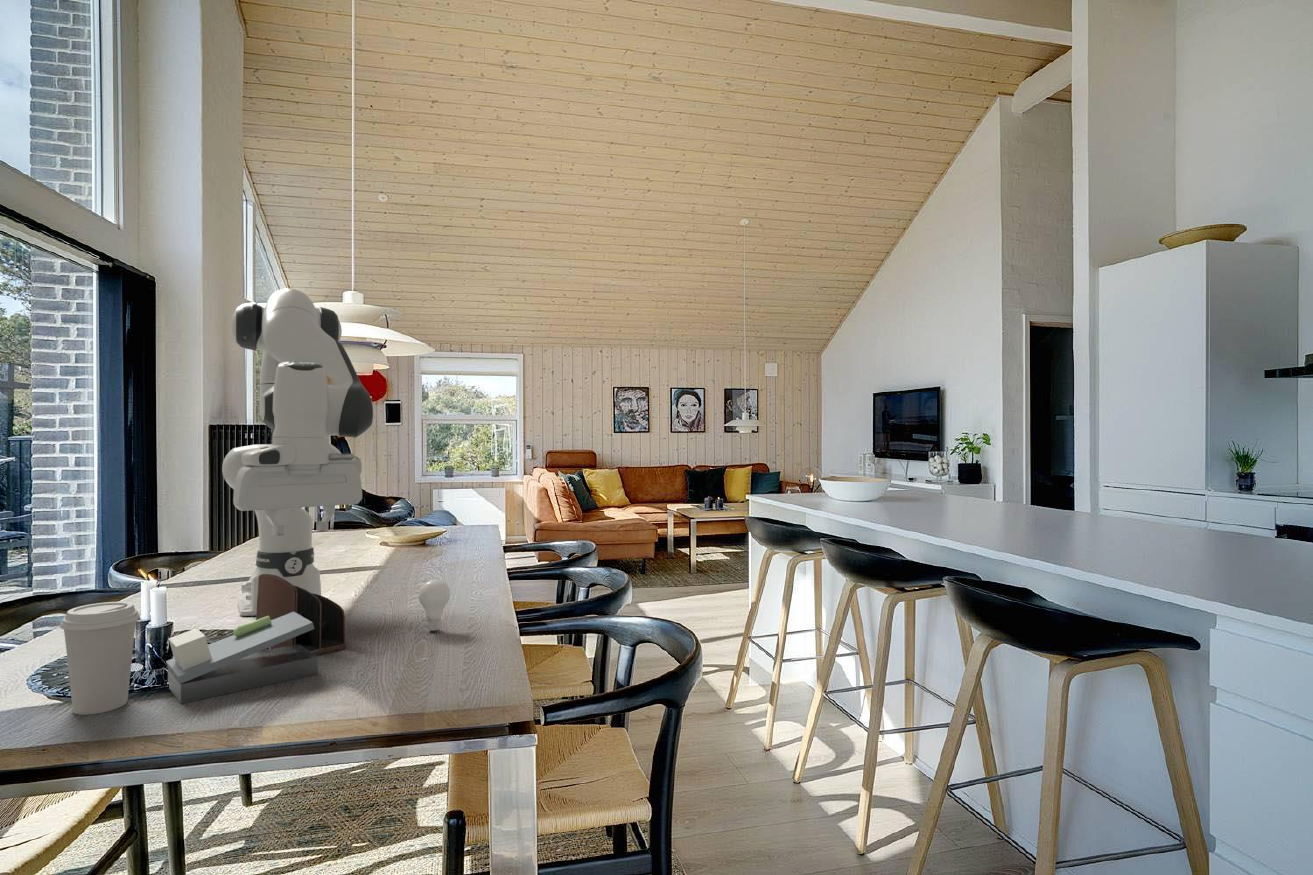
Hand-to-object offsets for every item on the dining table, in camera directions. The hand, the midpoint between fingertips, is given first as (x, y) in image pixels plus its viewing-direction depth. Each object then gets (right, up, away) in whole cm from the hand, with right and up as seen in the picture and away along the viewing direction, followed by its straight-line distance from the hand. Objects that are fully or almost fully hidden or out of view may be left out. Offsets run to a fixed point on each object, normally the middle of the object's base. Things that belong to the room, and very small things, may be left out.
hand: (300, 533), depth 123 cm
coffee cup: (-22, -24, -16) cm, 37 cm away
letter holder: (-9, -25, +17) cm, 31 cm away
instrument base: (-7, -24, -4) cm, 26 cm away
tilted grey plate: (-8, -19, -4) cm, 21 cm away
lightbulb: (+15, -25, +26) cm, 39 cm away
